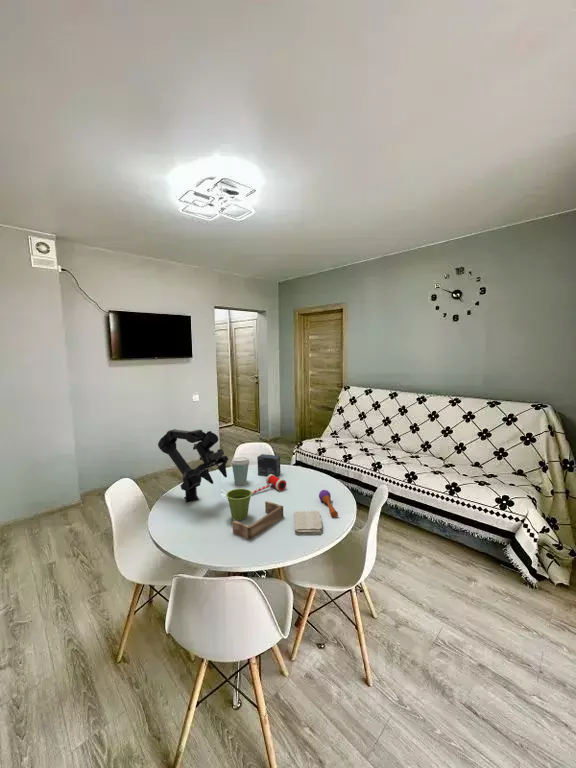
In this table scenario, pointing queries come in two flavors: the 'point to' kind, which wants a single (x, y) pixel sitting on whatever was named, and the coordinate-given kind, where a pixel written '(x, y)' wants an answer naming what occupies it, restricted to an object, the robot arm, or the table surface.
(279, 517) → the wooden frame
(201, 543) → the table surface
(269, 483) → the toy hammer
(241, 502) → the plant pot
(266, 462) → the small box
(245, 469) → the disposable coffee cup
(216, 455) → the robot arm
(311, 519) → the washcloth
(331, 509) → the kendama
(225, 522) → the table surface
